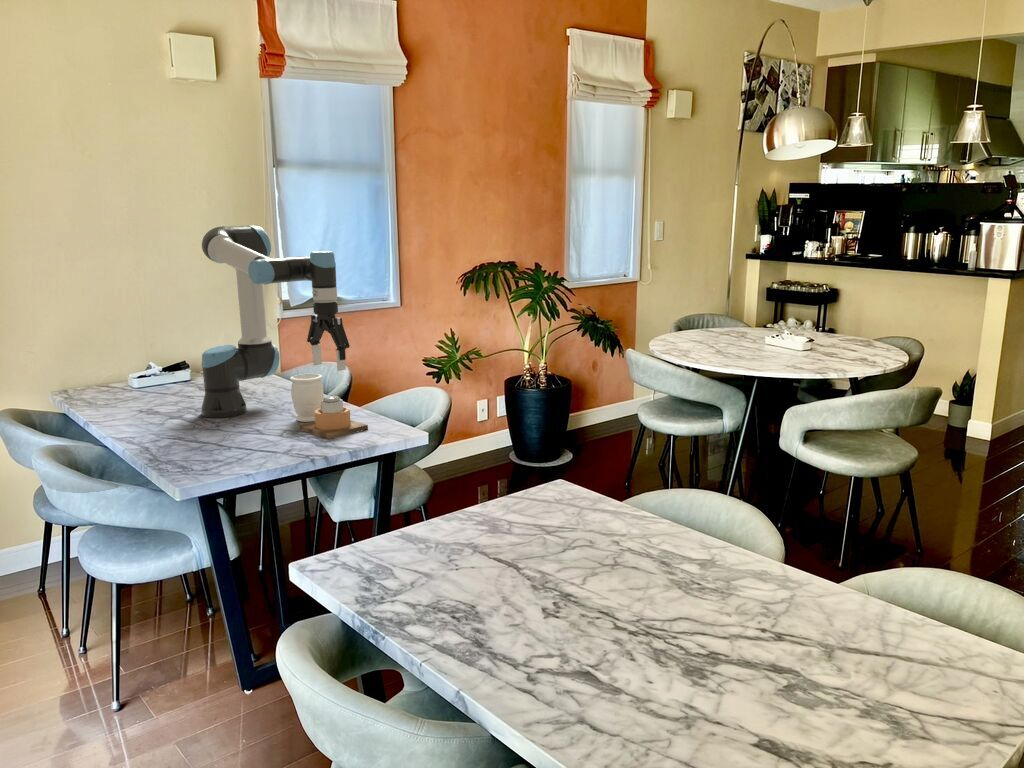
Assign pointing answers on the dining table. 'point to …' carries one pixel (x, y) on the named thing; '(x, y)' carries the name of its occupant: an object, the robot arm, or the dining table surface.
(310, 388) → the jar
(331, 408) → the frosted glass cylinder
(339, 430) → the wooden board
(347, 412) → the ring
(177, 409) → the dining table surface
